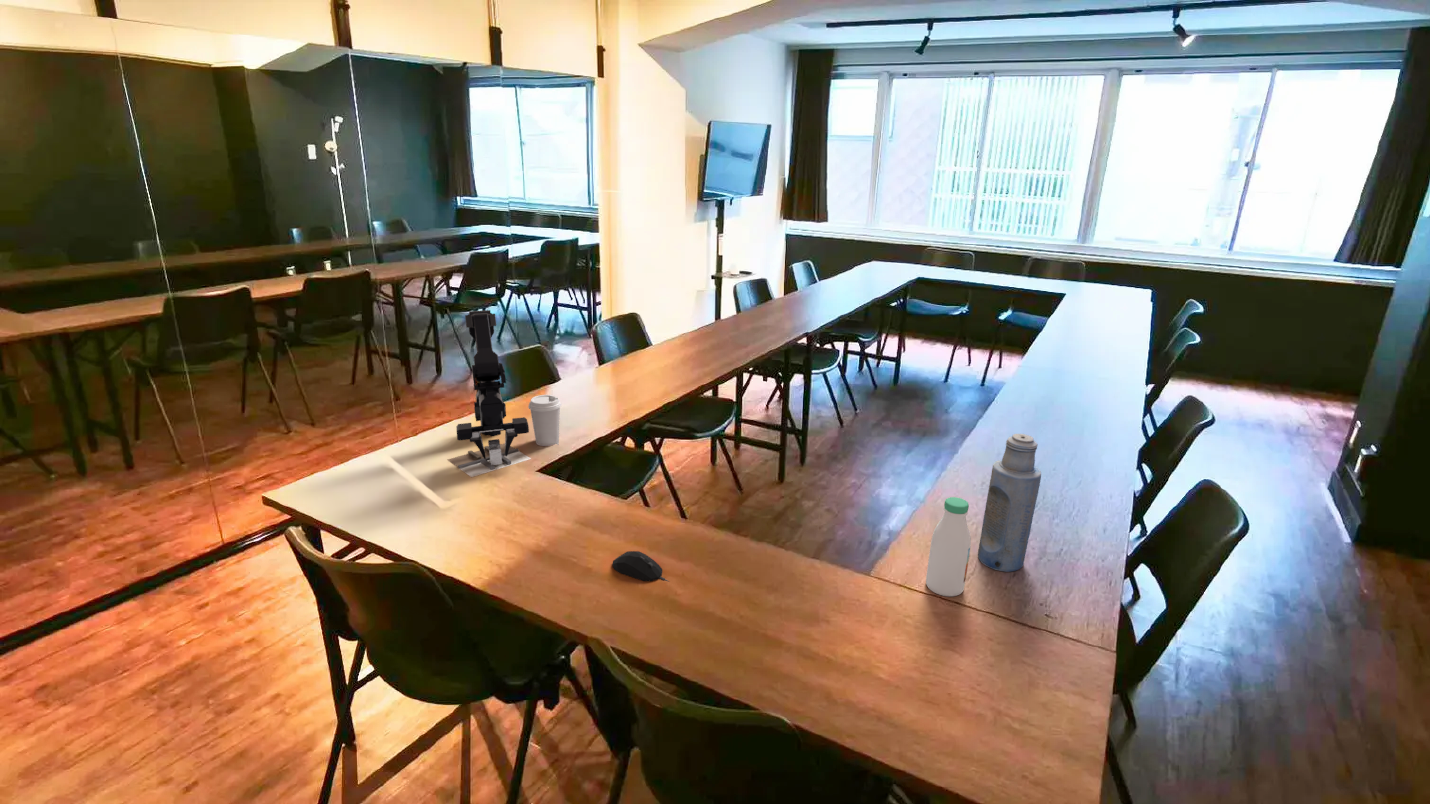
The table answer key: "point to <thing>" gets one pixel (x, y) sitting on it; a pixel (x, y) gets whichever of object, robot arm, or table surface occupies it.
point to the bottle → (1010, 506)
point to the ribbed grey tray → (486, 461)
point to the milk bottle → (950, 550)
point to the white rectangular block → (495, 452)
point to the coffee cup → (545, 419)
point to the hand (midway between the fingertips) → (495, 457)
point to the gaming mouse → (638, 566)
